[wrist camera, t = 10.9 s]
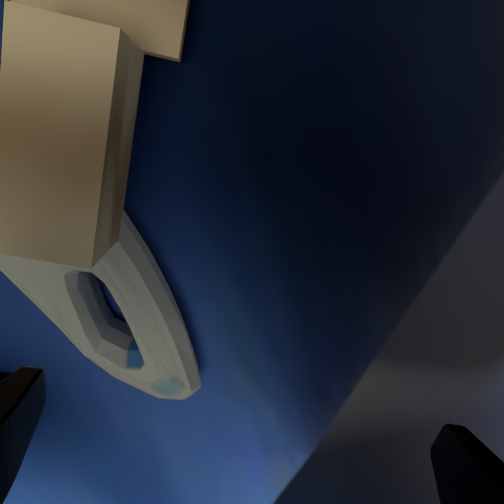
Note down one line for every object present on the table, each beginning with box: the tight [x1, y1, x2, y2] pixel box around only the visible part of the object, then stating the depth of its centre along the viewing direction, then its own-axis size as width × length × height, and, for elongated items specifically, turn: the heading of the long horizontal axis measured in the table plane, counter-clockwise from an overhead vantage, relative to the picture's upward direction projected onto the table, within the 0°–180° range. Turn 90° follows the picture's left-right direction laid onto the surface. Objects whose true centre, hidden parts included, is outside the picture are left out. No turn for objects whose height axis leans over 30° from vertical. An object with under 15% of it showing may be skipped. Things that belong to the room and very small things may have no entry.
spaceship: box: [0, 209, 202, 400], centre depth 19 cm, size 23×7×4 cm, turn 34°
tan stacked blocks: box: [0, 0, 190, 269], centre depth 13 cm, size 14×6×4 cm, turn 167°
